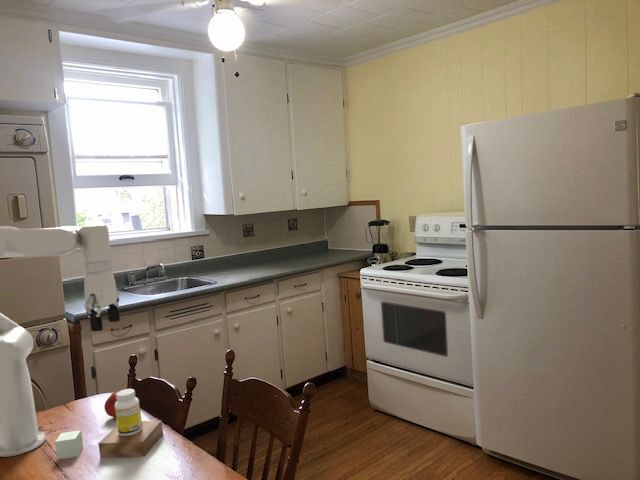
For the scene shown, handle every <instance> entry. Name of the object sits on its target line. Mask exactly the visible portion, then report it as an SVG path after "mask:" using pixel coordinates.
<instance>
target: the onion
mask: <svg viewBox="0 0 640 480" xmlns="http://www.w3.org/2000/svg"><path fill="white" fill-rule="evenodd" d="M116 394H117V392H115V391H113V392H112V393H111V394H110V396H109V397H108V398H107V399H106V400H105V402H104V407H103V408H104V411H105V413H106V415H107V416H109V417H111V418H115V419H116V413H115V403H116V402H117V401H118V400H117V398H116Z"/></svg>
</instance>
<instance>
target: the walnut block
mask: <svg viewBox="0 0 640 480" xmlns="http://www.w3.org/2000/svg"><path fill="white" fill-rule="evenodd" d="M162 422H163V421H162V419H161V420H144V421H142V430H141V431H140V432H138V433H137V434H134V435H131V436H121V435H119V433H118V428H117V425H116V426H115V427H114V428H113V429H112V430H111V431H109V433H108V434H106V436H104V437H103V438H102V439H101V440H100V441H99V442H98V444H97V445H98V450H99V451H98V452H99V458H100V459H103V458H104V459H106V458H107V459H109V458H114V459H115V458H139V457H140V458H142V457H143V458H144V457H146V456H147V454H148V453H149V452H150V451H151V450H152V448H153V447H154V446H155V445H156V443H158V442H159V440H160V439H161V437H162V436H164V430H163V423H162Z"/></svg>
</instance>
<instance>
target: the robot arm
mask: <svg viewBox="0 0 640 480" xmlns="http://www.w3.org/2000/svg"><path fill="white" fill-rule="evenodd" d="M109 233H110V232H109V228H108V226H107V225H106V224H104V223H95V224H93V223H92V224H87V225H81V226H78V225H77V226H76V225H74V226H72V225H64V226H59V227H48V228H46V227H45V228H20V227H19V228H18V227H15V226H11V225H9V226H7V225H6V226H4V225H3V226H0V259H5V258H13V259H17V258H35V257H57V256H58V257H59V256H60V257H61V256H67V255H68V254H71V253H72V252H75V251H79V250H81V252H82V261H83V262H82V263H83V268H84V280H83V287H84V288H83V290H84V305H83V307H84V308H85V309H84V310H86V311H85V312H86V314H87V316H88V318H89V323H90V331H92V332H101V331H103V330H104V325H103V319H102V316H101V312H102V309H104V308H106V307H108V308H107V317H108V322H109V323H115V322H116V323H117V322H119V321H120V320H121V318H120V310H119V308H120V305H119V301H120V298H119V297H120V291H119V290H117V284H116V279H115V274H114V266H113V257H112V251H111V241H110V234H109ZM33 348H34V338H33V336H32V334H31V333H30V331H28V330H27V329H25V328H24V327H23V326H21V325H19V324H18V323H16V322H15V321H14V320H11V319H10V318H9V317H7V316H6V315H4V314H3V313H1V312H0V457H3V458H5V457H15V456H18V455H23V454H25V453H28V452H30V451H33V450H34V449H36V448H38V447H39V446H41V445H43V443H45V441H46V434H45V432H43V431H39V427H38V421H37V413H36V407H35V400H34V399H35V398H34V393H33V387H32V380H31V375H30V371H29V369H28V364H27V358H28V356H29V355H30V354H31V352H32V350H33Z"/></svg>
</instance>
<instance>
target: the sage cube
mask: <svg viewBox="0 0 640 480" xmlns="http://www.w3.org/2000/svg"><path fill="white" fill-rule="evenodd" d="M54 444H55V451H56V452H55V453H56V457H57V458H56V459H57V460H63V459H64V460H65V459H69V458H71V459H72V458H76V457H79V455H80V454H81V452H82V450H83V449H84V443H83V435H82V429H79V430H73V431H72V430H71V431H65V432H61V433H60V434H59V436H58V437H57V439H56V440H55V441H54Z"/></svg>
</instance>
